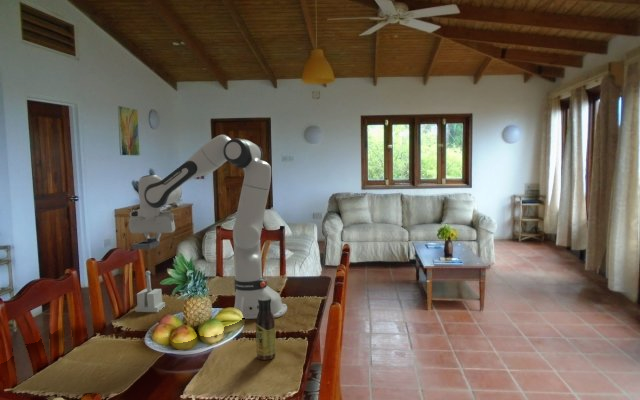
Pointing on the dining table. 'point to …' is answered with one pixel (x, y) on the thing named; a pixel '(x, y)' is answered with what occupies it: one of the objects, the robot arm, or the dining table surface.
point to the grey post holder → (149, 298)
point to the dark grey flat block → (146, 244)
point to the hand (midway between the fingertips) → (153, 242)
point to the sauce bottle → (265, 330)
